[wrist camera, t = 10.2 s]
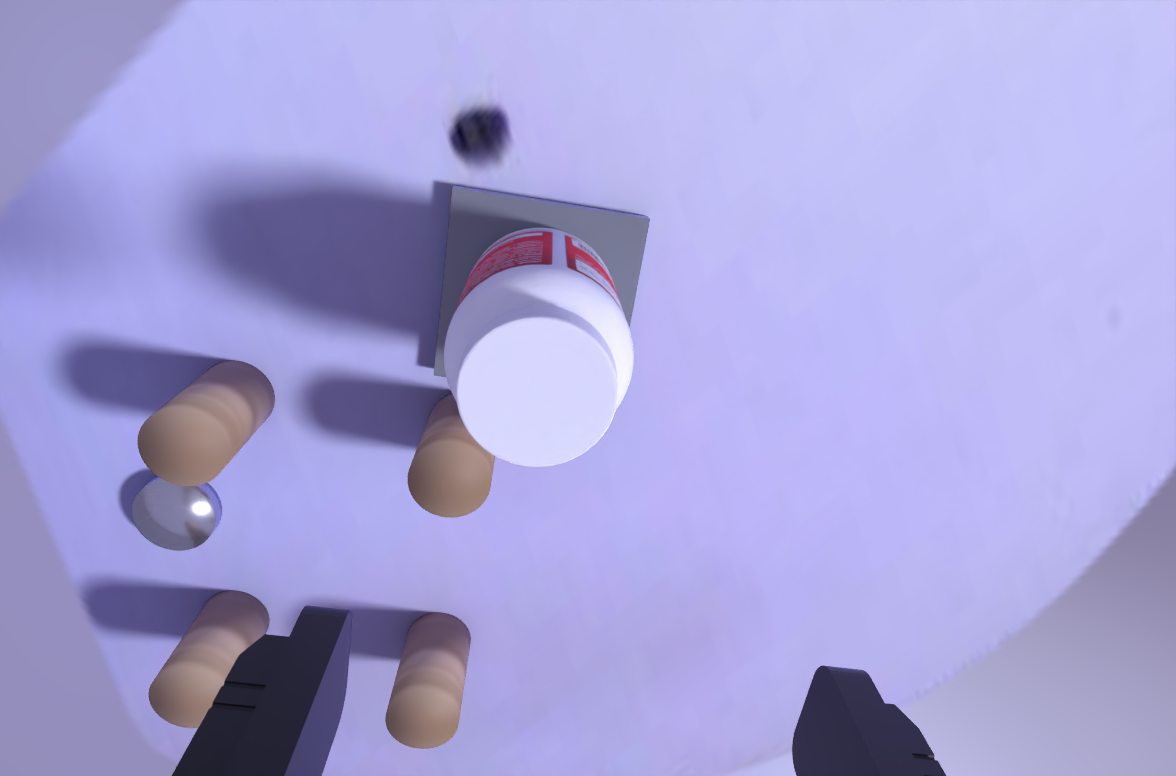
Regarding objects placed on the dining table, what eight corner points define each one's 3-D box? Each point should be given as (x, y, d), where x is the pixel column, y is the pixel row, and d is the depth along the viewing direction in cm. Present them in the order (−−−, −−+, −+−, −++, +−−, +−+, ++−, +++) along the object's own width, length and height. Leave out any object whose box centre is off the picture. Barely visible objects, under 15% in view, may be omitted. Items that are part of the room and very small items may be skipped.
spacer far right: (410, 609, 39) (388, 688, 33) (474, 616, 39) (462, 695, 34) (404, 660, 40) (382, 745, 35) (466, 666, 40) (454, 751, 35)
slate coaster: (454, 185, 31) (452, 187, 31) (647, 216, 32) (650, 219, 31) (436, 368, 34) (433, 375, 33) (614, 393, 35) (615, 400, 34)
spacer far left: (202, 587, 38) (147, 665, 32) (270, 594, 38) (225, 673, 33) (203, 640, 39) (149, 724, 34) (268, 647, 39) (225, 731, 34)
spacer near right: (432, 387, 34) (411, 439, 29) (503, 397, 35) (495, 450, 30) (425, 451, 36) (404, 512, 30) (494, 460, 36) (485, 522, 31)
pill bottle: (452, 347, 33) (407, 463, 23) (486, 206, 31) (453, 263, 21) (592, 383, 34) (610, 511, 23) (633, 248, 32) (673, 323, 21)
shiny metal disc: (143, 464, 35) (129, 476, 34) (224, 474, 36) (213, 486, 35) (145, 532, 37) (133, 545, 36) (224, 540, 37) (214, 554, 36)
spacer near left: (199, 355, 33) (136, 403, 28) (275, 366, 34) (226, 415, 29) (200, 423, 35) (139, 480, 29) (274, 432, 35) (226, 491, 30)
